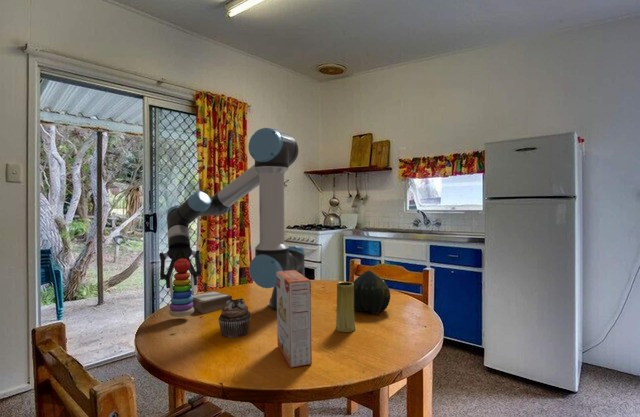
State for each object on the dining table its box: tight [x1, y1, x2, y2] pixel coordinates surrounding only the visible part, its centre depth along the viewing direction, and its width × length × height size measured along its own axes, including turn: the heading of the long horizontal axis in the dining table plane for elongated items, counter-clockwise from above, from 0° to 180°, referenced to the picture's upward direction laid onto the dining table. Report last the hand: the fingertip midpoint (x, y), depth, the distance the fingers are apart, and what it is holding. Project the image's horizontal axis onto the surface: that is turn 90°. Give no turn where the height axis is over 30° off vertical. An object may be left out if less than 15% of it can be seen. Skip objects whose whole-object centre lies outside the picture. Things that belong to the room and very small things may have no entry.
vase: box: [335, 281, 356, 333], centre depth 111 cm, size 6×6×14 cm
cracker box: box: [276, 270, 313, 369], centre depth 92 cm, size 14×6×21 cm, turn 19°
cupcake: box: [217, 298, 252, 339], centre depth 108 cm, size 10×10×10 cm
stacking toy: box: [168, 259, 195, 318], centre depth 121 cm, size 8×8×19 cm
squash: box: [352, 269, 391, 315], centre depth 130 cm, size 14×15×15 cm
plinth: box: [191, 290, 233, 315], centre depth 136 cm, size 12×12×4 cm
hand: (182, 294), depth 118 cm, fingers closed on stacking toy, 6 cm apart
